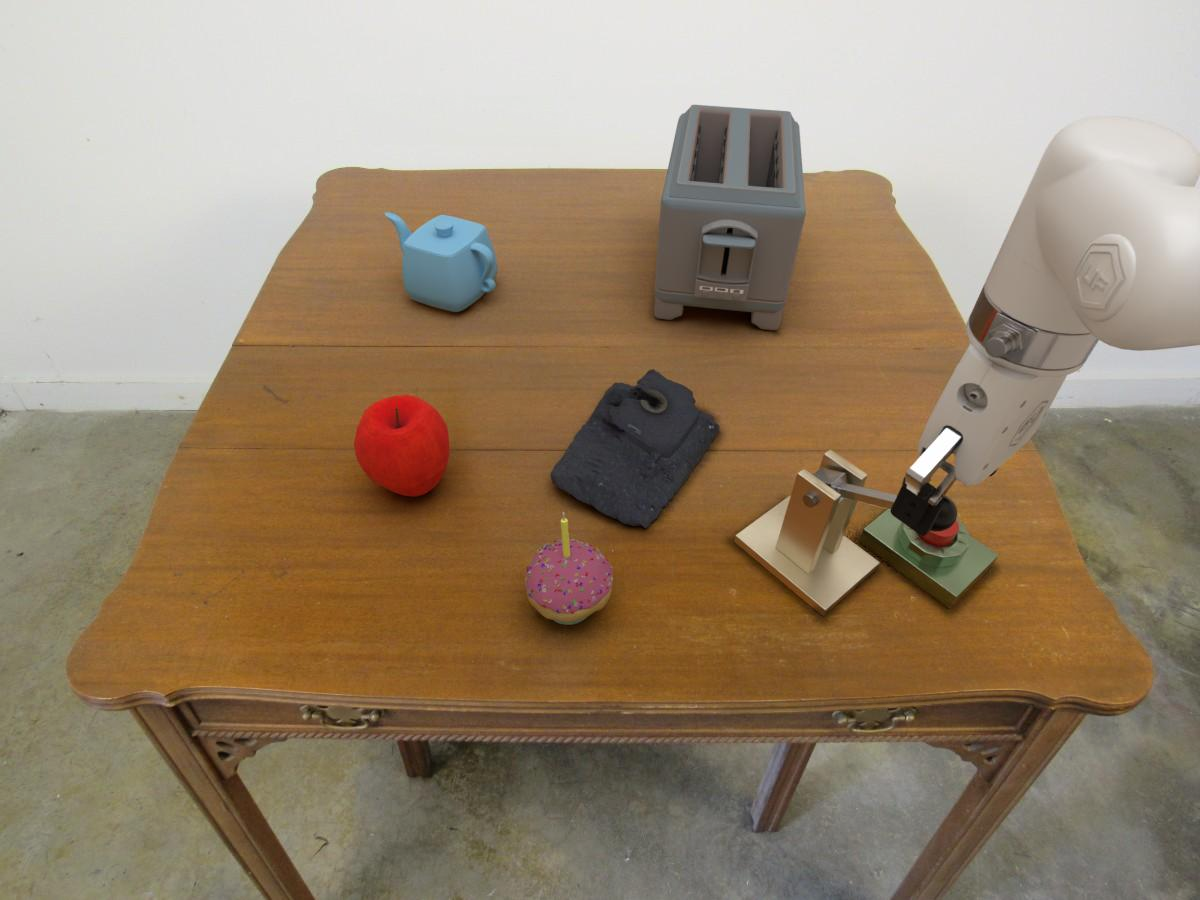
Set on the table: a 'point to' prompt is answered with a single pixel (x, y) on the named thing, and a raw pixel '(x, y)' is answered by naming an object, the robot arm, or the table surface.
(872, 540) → the button housing
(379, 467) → the apple
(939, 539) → the button
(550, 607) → the cupcake
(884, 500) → the lever
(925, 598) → the table surface
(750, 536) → the switch bracket
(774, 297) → the toaster
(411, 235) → the teapot
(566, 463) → the dark gray ringed slab
